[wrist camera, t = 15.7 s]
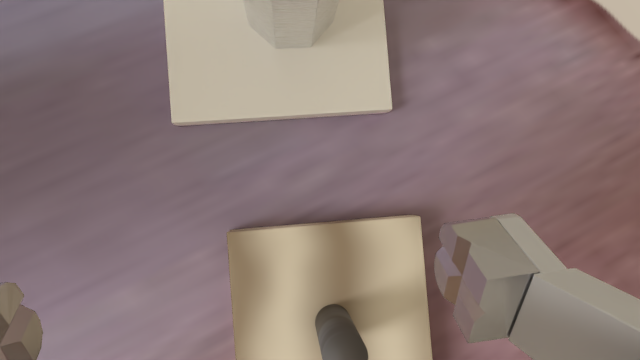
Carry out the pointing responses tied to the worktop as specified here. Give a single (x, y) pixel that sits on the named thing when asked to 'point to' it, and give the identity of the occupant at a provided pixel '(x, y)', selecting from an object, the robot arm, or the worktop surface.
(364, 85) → the board
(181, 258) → the worktop surface
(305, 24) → the silver metal canister
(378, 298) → the post stand
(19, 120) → the worktop surface
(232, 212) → the worktop surface
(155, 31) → the worktop surface
